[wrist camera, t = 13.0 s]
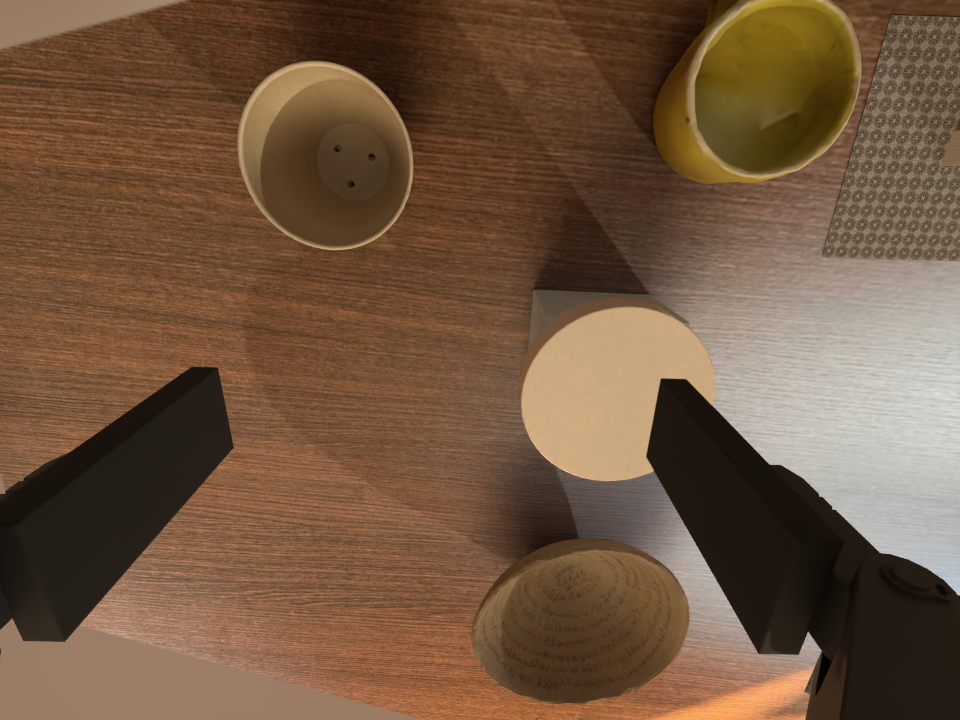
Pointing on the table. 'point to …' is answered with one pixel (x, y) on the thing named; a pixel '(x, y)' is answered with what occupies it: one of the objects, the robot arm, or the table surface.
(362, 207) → the flower pot
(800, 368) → the table surface
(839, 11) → the mug
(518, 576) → the bowl
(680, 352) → the small plate
